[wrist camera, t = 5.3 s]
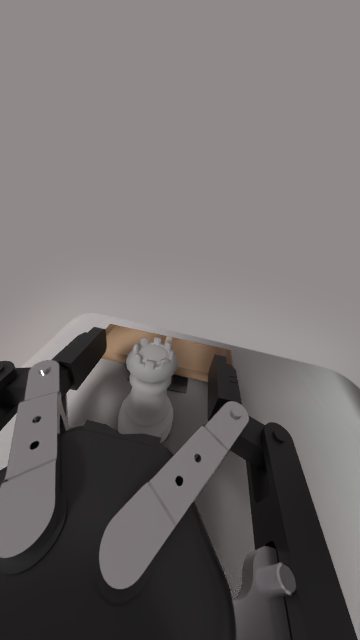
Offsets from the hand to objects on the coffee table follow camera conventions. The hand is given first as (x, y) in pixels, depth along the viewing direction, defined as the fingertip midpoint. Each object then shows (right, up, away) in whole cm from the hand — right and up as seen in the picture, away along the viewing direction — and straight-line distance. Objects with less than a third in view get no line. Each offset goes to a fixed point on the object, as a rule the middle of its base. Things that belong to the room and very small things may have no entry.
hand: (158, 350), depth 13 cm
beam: (0, -1, +7) cm, 7 cm away
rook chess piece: (-1, -6, +2) cm, 7 cm away
